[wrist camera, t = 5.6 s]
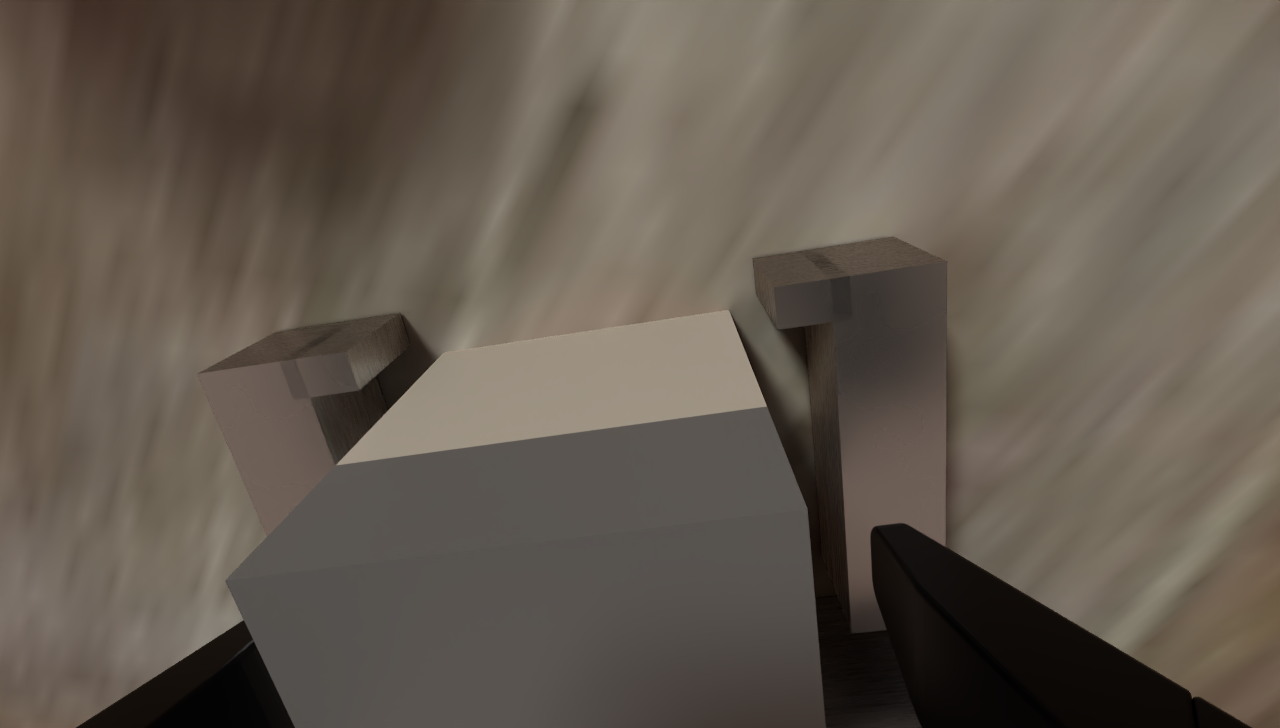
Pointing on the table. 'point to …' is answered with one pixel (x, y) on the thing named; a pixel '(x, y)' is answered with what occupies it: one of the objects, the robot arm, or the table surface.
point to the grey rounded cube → (552, 548)
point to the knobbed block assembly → (840, 410)
